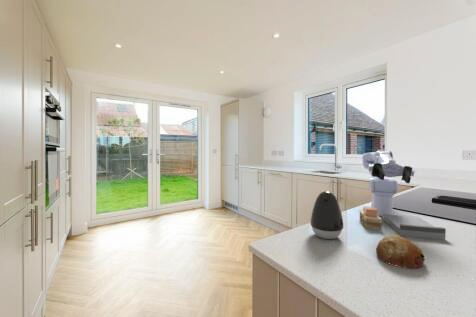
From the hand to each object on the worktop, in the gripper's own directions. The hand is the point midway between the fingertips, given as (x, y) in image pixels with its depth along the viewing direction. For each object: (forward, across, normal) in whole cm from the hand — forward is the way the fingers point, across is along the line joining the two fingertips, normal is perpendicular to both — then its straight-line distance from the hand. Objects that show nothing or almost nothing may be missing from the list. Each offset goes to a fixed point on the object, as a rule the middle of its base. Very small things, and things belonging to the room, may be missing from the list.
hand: (395, 179), depth 77 cm
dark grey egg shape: (+19, -20, +16) cm, 32 cm away
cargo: (+1, -5, +16) cm, 17 cm away
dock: (0, +8, +18) cm, 20 cm away
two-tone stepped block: (+2, -5, +20) cm, 20 cm away
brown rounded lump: (+28, -3, +12) cm, 30 cm away
